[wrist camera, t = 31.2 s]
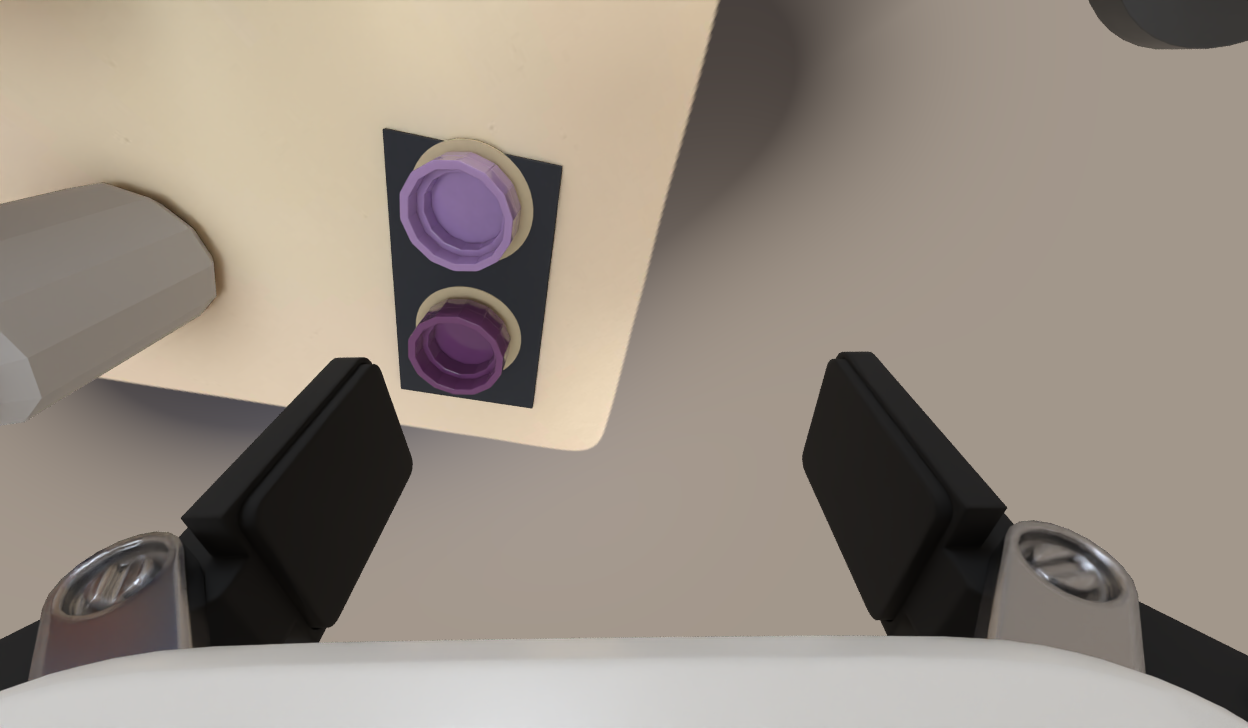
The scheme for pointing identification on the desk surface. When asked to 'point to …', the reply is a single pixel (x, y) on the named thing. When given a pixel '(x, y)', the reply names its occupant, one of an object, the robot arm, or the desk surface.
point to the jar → (89, 289)
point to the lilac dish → (460, 211)
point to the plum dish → (459, 347)
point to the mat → (501, 286)
